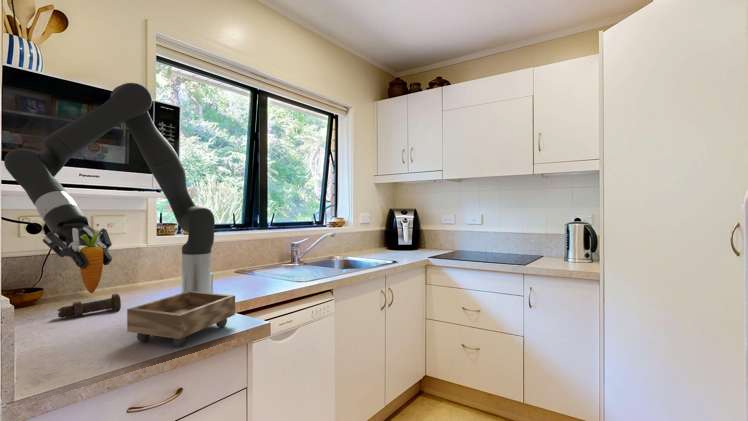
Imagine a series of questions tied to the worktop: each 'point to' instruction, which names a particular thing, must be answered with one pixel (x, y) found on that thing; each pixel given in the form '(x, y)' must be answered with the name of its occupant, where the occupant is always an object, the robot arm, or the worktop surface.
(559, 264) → the worktop surface
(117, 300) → the bolt
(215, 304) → the caster cart
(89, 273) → the carrot
